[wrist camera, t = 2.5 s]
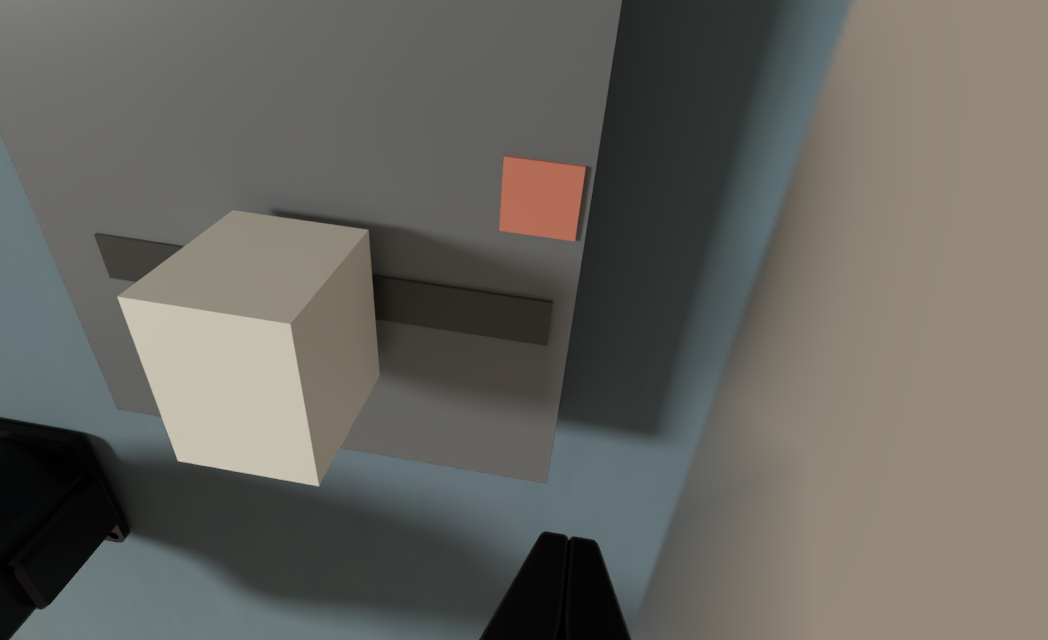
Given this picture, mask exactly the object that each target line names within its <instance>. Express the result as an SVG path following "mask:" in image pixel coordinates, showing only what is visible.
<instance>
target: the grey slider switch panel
mask: <svg viewBox="0 0 1048 640" xmlns="http://www.w3.org/2000/svg"><path fill="white" fill-rule="evenodd" d="M621 4H622V0H0V134H1V136H2V138H3V141H4V143H5V145H6V148H7V150H8V152H9V155H10V157H11V159H12V162H13V164H14V167H15V169H16V171H17V174H18V176H19V178H20V181H21V183H22V185H23V188H24V190H25V192H26V195H27V197H28V200H29V202H30V204H31V207H32V209H33V211H34V214H35V216H36V218H37V221H38V223H39V225H40V228H41V230H42V233H43V235H44V237H45V240H46V242H47V244H48V247H49V249H50V251H51V254H52V256H53V258H54V261H55V263H56V266H57V268H58V270H59V273H60V275H61V277H62V280H63V282H64V284H65V287H66V289H67V291H68V294H69V296H70V298H71V301H72V303H73V306H74V308H75V310H76V313H77V315H78V317H79V320H80V322H81V324H82V327H83V329H84V331H85V334H86V336H87V339H88V341H89V343H90V346H91V348H92V350H93V353H94V355H95V357H96V360H97V362H98V364H99V367H100V369H101V372H102V374H103V376H104V379H105V381H106V383H107V386H108V388H109V390H110V393H111V395H112V397H113V400H114V402H115V405H116V407H117V409H119V410H125V411H131V412H137V413H142V414H148V415H154V416H160V417H161V414H160V411H159V408H158V406H157V403H156V400H155V398H154V395H153V392H152V390H151V387H150V384H149V381H148V379H147V376H146V373H145V371H144V368H143V365H142V363H141V360H140V357H139V354H138V352H137V349H136V346H135V344H134V341H133V338H132V336H131V333H130V330H129V327H128V325H127V322H126V319H125V317H124V314H123V311H122V309H121V306H120V303H119V300H118V298H117V296H119V295H120V294H121V293H123V292H124V291H125V290H127V289H128V288H129V287H131V286H132V285H133V284H135V283H136V282H137V281H139V280H140V279H141V278H143V277H144V276H145V275H147V274H148V273H149V272H151V271H152V270H153V269H155V268H156V267H157V266H159V265H160V264H161V263H163V262H164V261H165V260H167V259H168V258H169V257H171V256H172V255H173V254H175V253H176V252H177V251H179V250H180V249H181V248H183V247H184V246H186V245H187V244H188V243H190V242H191V241H192V240H194V239H195V238H196V237H198V236H199V235H200V234H202V233H203V232H204V231H206V230H207V229H208V228H210V227H211V226H212V225H214V224H215V223H216V222H218V221H219V220H220V219H222V218H223V217H224V216H226V215H227V214H228V213H230V212H231V211H232V210H235V211H242V212H249V213H256V214H262V215H269V216H276V217H283V218H290V219H297V220H304V221H311V222H318V223H325V224H332V225H339V226H346V227H353V228H360V229H367V230H369V243H370V256H371V269H372V282H373V295H374V308H375V321H376V334H377V347H378V360H379V373H380V376H379V378H378V379H377V381H376V383H375V385H374V387H373V389H372V390H371V392H370V394H369V396H368V398H367V400H366V401H365V403H364V405H363V407H362V409H361V411H360V412H359V414H358V416H357V418H356V420H355V422H354V423H353V425H352V427H351V429H350V431H349V433H348V434H347V436H346V438H345V440H344V442H343V444H342V445H341V447H340V448H344V449H350V450H355V451H361V452H367V453H373V454H378V455H384V456H390V457H396V458H402V459H407V460H413V461H419V462H425V463H430V464H436V465H442V466H448V467H453V468H459V469H465V470H471V471H476V472H482V473H488V474H494V475H499V476H505V477H511V478H517V479H522V480H528V481H534V482H540V483H545V484H547V481H548V475H549V468H550V462H551V455H552V449H553V443H554V436H555V430H556V423H557V417H558V410H559V404H560V397H561V391H562V385H563V378H564V372H565V365H566V359H567V352H568V346H569V339H570V333H571V327H572V320H573V314H574V307H575V301H576V294H577V288H578V281H579V275H580V269H581V262H582V256H583V249H584V243H585V236H586V230H587V223H588V217H589V211H590V204H591V198H592V191H593V185H594V178H595V172H596V165H597V159H598V153H599V146H600V140H601V133H602V127H603V120H604V114H605V107H606V101H607V95H608V88H609V82H610V75H611V69H612V62H613V56H614V49H615V43H616V37H617V30H618V24H619V17H620V11H621Z"/></svg>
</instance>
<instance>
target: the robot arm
mask: <svg viewBox="0 0 1048 640" xmlns="http://www.w3.org/2000/svg"><path fill="white" fill-rule="evenodd" d="M129 534H130V529H129V527H128V525H127V523H126V521H125V519H124V517H123V515H122V513H121V511H120V509H119V507H118V505H117V503H116V501H115V498H114V496H113V494H112V492H111V490H110V488H109V486H108V484H107V482H106V480H105V478H104V476H103V474H102V472H101V470H100V468H99V465H98V463H97V461H96V459H95V457H94V455H93V453H92V451H91V449H90V447H89V445H88V444H87V442H86V441H85V440H83V439H82V438H80V437H79V436H76V435H73V434H68V433H62V432H56V431H51V430H45V429H40V428H34V427H28V426H23V425H17V424H12V423H6V422H0V640H9V639H10V638H11V637H12V636H13V635H14V634H15V632H16V631H17V630H18V629H19V628H20V627H21V625H22V624H23V623H24V622H25V621H26V620H27V618H28V617H29V616H30V615H31V614H32V613H33V611H34V610H35V609H40V610H42V609H44V608H46V607H47V606H48V605H50V604H51V603H52V601H53V600H54V599H55V598H56V597H57V595H58V594H59V593H60V592H61V591H62V589H63V588H64V587H65V586H66V585H67V584H68V582H69V581H70V580H71V579H72V578H73V576H74V575H75V574H76V573H77V572H78V570H79V569H80V568H81V567H82V566H83V565H84V563H85V562H86V561H87V560H88V559H89V557H90V556H91V555H92V554H93V553H94V551H95V550H96V549H97V548H98V547H99V545H100V544H101V543H102V542H103V541H104V540H108V541H113V542H123V541H124V540H125V539H126V537H127V536H128V535H129ZM479 640H631V637H630V635H629V632H628V629H627V626H626V623H625V620H624V617H623V614H622V611H621V608H620V606H619V603H618V600H617V597H616V594H615V591H614V588H613V585H612V582H611V580H610V577H609V574H608V571H607V568H606V565H605V562H604V559H603V556H602V554H601V551H600V548H599V546H598V544H597V542H596V541H594V540H592V539H586V538H580V537H571V538H570V539H568V537H567V536H566V535H564V534H558V533H552V532H547V531H545V532H543V533H541V534H540V536H539V537H538V539H537V541H536V543H535V544H534V546H533V548H532V549H531V551H530V553H529V555H528V556H527V558H526V560H525V561H524V563H523V565H522V567H521V568H520V570H519V572H518V573H517V575H516V577H515V579H514V580H513V582H512V584H511V586H510V587H509V589H508V591H507V592H506V594H505V596H504V598H503V599H502V601H501V603H500V604H499V606H498V608H497V610H496V611H495V613H494V615H493V616H492V618H491V620H490V622H489V623H488V625H487V627H486V628H485V630H484V632H483V634H482V635H481V637H480V639H479Z"/></svg>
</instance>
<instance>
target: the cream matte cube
mask: <svg viewBox="0 0 1048 640" xmlns="http://www.w3.org/2000/svg"><path fill="white" fill-rule="evenodd" d="M117 298H118V300H119V303H120V306H121V309H122V311H123V314H124V317H125V319H126V322H127V325H128V327H129V330H130V333H131V336H132V338H133V341H134V344H135V346H136V349H137V352H138V354H139V357H140V360H141V363H142V365H143V368H144V371H145V373H146V376H147V379H148V381H149V384H150V387H151V390H152V392H153V395H154V398H155V400H156V403H157V406H158V408H159V411H160V414H161V417H162V419H163V422H164V425H165V427H166V430H167V433H168V435H169V438H170V441H171V444H172V446H173V449H174V452H175V454H176V457H177V460H178V461H180V462H186V463H192V464H197V465H203V466H208V467H214V468H219V469H225V470H231V471H236V472H242V473H247V474H253V475H259V476H264V477H270V478H275V479H281V480H286V481H292V482H298V483H303V484H309V485H314V486H320V484H321V482H322V480H323V478H324V476H325V475H326V473H327V471H328V469H329V467H330V465H331V464H332V462H333V460H334V458H335V456H336V454H337V453H338V451H339V449H340V447H341V445H342V444H343V442H344V440H345V438H346V436H347V434H348V433H349V431H350V429H351V427H352V425H353V423H354V422H355V420H356V418H357V416H358V414H359V412H360V411H361V409H362V407H363V405H364V403H365V401H366V400H367V398H368V396H369V394H370V392H371V390H372V389H373V387H374V385H375V383H376V381H377V379H378V378H379V376H380V373H379V360H378V347H377V334H376V321H375V308H374V295H373V282H372V269H371V256H370V243H369V230H367V229H360V228H353V227H346V226H339V225H332V224H325V223H318V222H311V221H304V220H297V219H290V218H283V217H276V216H269V215H262V214H256V213H249V212H242V211H235V210H232V211H231V212H230V213H228V214H227V215H226V216H224V217H223V218H222V219H220V220H219V221H218V222H216V223H215V224H214V225H212V226H211V227H210V228H208V229H207V230H206V231H204V232H203V233H202V234H200V235H199V236H198V237H196V238H195V239H194V240H192V241H191V242H190V243H188V244H187V245H186V246H184V247H183V248H181V249H180V250H179V251H177V252H176V253H175V254H173V255H172V256H171V257H169V258H168V259H167V260H165V261H164V262H163V263H161V264H160V265H159V266H157V267H156V268H155V269H153V270H152V271H151V272H149V273H148V274H147V275H145V276H144V277H143V278H141V279H140V280H139V281H137V282H136V283H135V284H133V285H132V286H131V287H129V288H128V289H127V290H125V291H124V292H123V293H121V294H120V295H119V296H117Z"/></svg>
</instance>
